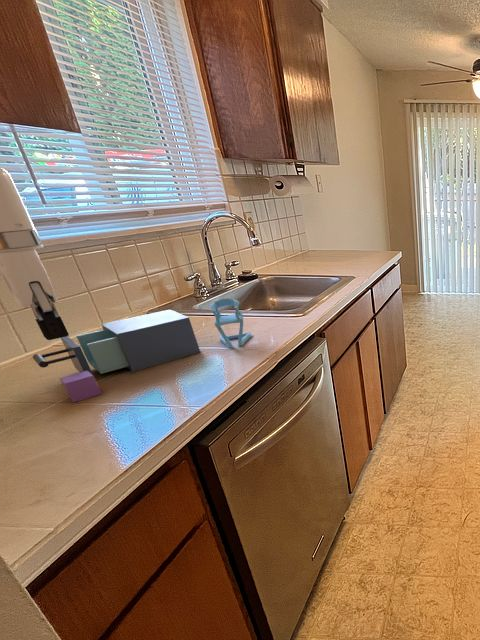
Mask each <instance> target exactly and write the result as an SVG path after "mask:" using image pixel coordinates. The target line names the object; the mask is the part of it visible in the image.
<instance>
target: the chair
mask: <svg viewBox="0 0 480 640" xmlns="http://www.w3.org/2000/svg"><path fill="white" fill-rule="evenodd" d="M228 306H232V307H233V306H234V310H235V313H234V314H228V315H221V312H220V310H219V308H222V307H228ZM239 306H240V301H239V300H236V299H233V298H222V299H219V300H216V301H214V302H212V303H211V304H209V307H210V309H211V311H212V314H213V315H214V317H215V320H214V327H216V329H217V330H218V332H219V334H220V335H221V336H220V337H219V341H220V342H221V343H222V344H224V345H225V346H226V347H227V348H228V349H230V348H233V345H232V341H230V340H232V339H237V344H238V346H239V347H242V346H243V345H244V344H245V343H246V342H247V341H248V340H249V339H250V338H251V337H252V333H251V332H244V315H243V312H240V309H239V308H240V307H239ZM230 324H239V329H238V330H239V331H238V334H232V335H227V334H226V333H225V332H224V329H223V328H222V326H225V325H230ZM243 332H244V333H243Z"/></svg>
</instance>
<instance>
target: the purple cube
mask: <svg viewBox="0 0 480 640" xmlns="http://www.w3.org/2000/svg"><path fill="white" fill-rule="evenodd" d="M93 375H94V374H93ZM93 375H92V374H91V373H90V372H88V371H84V372H77V373H73V374H70V375H65V376H63V377H59V380H60V382H61V383H62V385H63V388H64V390H65V392H66V394H67V396H68V397H69V399H71V401H72V402H73V403H77V402H80V401H84V400H86V399H89V398H90V399H91V398H93V397H96V396H99V395H102V391H101V390H100V387H99V385H98V383H97V380H96V378H94V377H95V375H94V376H93Z"/></svg>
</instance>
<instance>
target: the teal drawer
mask: <svg viewBox="0 0 480 640" xmlns="http://www.w3.org/2000/svg"><path fill="white" fill-rule="evenodd" d="M75 337H76V339H77V340H78V343H77V342H76V341H74V340H73V339H72V338H70V337H69V335H68V336H66V337H62V338H60V339H61V341H62V343H63V347H64V349H60V350H57V351H56V350H55V351H52V352H51V351H50V352H48V353H43V354H40V353H35V354H33V355H32V359H33V361H34V362H35V363H36V364H37V365H38V366H39V367H40V368H43V369H44V368H47V367H49V365H51V364H55V363H59V362H60V363H61V362H63V361H67V360H71V362H72V364H73V366H74V369H75V370H77V372H78V373H80V372H84V371H88V372H90V373H91V374H92V375H93V376H94V379H96V378H95V375H94V374H93V372H92V368H93V369H95V370H96V371H97V372H98V374H100V375H103V374H106V373H110V372H113V371H117V370H120V369H123V368H127V366H129V364H128V361H127V359H126V357H125V354H124V352H123V349H122V347H121V345H120V342H119V340H118V337H117V336H115V335H114V334H112V333H111V332H109V331H108V330H106V329H104V330H103V329H100V330H95V331H91V332H86V333H82V334H77V335H75ZM65 353H67V355H66V356H62V357H59V358H55V359H50V360H47V359H45V358H49V357H52V356H57V355H61V354H65ZM90 366H91V367H92V368H91V367H90Z"/></svg>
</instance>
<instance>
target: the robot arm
mask: <svg viewBox="0 0 480 640" xmlns="http://www.w3.org/2000/svg"><path fill="white" fill-rule="evenodd" d="M43 248H44V245H43V242H42V240H41V239H40V236H39V233H38V232H37V229H36V228H35V226H34V223H33V221H32V219H31V216H30V214H29V212H28V209H27V208H26V205H25V203H24V202H23V199H22V197H21V194H20V192H19V190H18V188H17V187H16V184H15V182H14V180H13V178H12V176H11V174H10V173H9V172H8V171H7V170H6V169H4V168H3V167H0V273H1V275H2V278H3V279H4V280H5V283H6V285H7V287H8V289H9V291H10V293H11V295H12V297H13V300H14V301H15V303H16V304H17V305H19V306H20V307H22V308H26V309H28V308H29V307H30V309H31V311H32V313H33V315H34V317H35V321H36V323H37V325H38V328H39V330H40V331H41V333H42V335H43V338H45V339H46V340H47V341H52V340H58V339H61V338H62V337H66V336H68V337H69V335H70V334H69V332H68V330H67V328H66V326H65V323H64V321H63V319H62V317H61V316H59V313H58V311H57V309H56V306H55V305H54V304H56V303H57V302H58V301H59V298H58V297H57V294H56V293H57V292H56V291H55V288H54V286H53V284H52V282H51V281H52V280H51V279H50V276H49V275H48V272H47V270H46V268H45V266H44V264H43V262H42V260H41V258H40V255H39V253H38V252H37V250H39V249H43Z"/></svg>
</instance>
